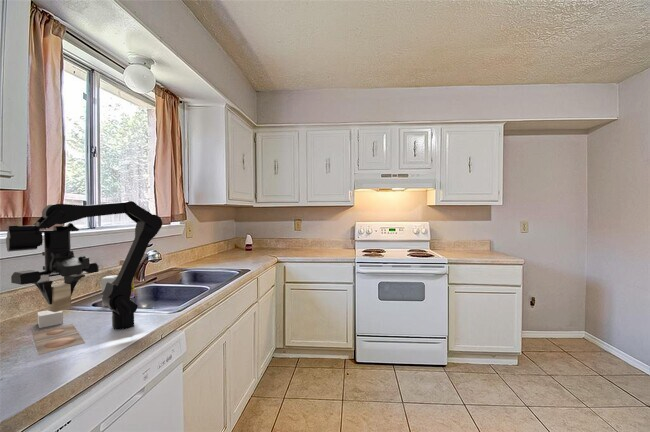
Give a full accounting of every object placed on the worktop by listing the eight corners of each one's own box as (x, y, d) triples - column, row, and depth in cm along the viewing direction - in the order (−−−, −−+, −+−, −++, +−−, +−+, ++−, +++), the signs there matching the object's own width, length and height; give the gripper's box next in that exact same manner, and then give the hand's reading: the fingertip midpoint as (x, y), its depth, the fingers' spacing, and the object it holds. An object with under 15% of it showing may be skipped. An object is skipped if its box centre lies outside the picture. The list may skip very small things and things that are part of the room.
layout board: (85, 347, 92) (85, 342, 92) (38, 358, 85) (38, 354, 84) (72, 327, 107) (72, 323, 107) (32, 335, 100) (32, 332, 100)
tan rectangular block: (71, 308, 93) (70, 284, 93) (54, 312, 89) (54, 287, 89) (63, 306, 94) (62, 282, 94) (47, 310, 91) (46, 285, 91)
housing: (63, 326, 108) (62, 312, 107) (39, 331, 103) (38, 316, 103) (60, 322, 112) (60, 308, 112) (37, 326, 108) (37, 312, 107)
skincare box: (114, 308, 128) (113, 277, 127) (101, 309, 127) (100, 278, 126) (120, 303, 134) (119, 274, 133) (107, 304, 132) (107, 275, 132)
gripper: (31, 253, 79) (32, 316, 80) (109, 245, 96) (110, 297, 97) (9, 251, 84) (11, 310, 85) (87, 243, 101) (88, 293, 101)
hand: (59, 302), depth 92 cm, fingers closed on tan rectangular block, 4 cm apart
